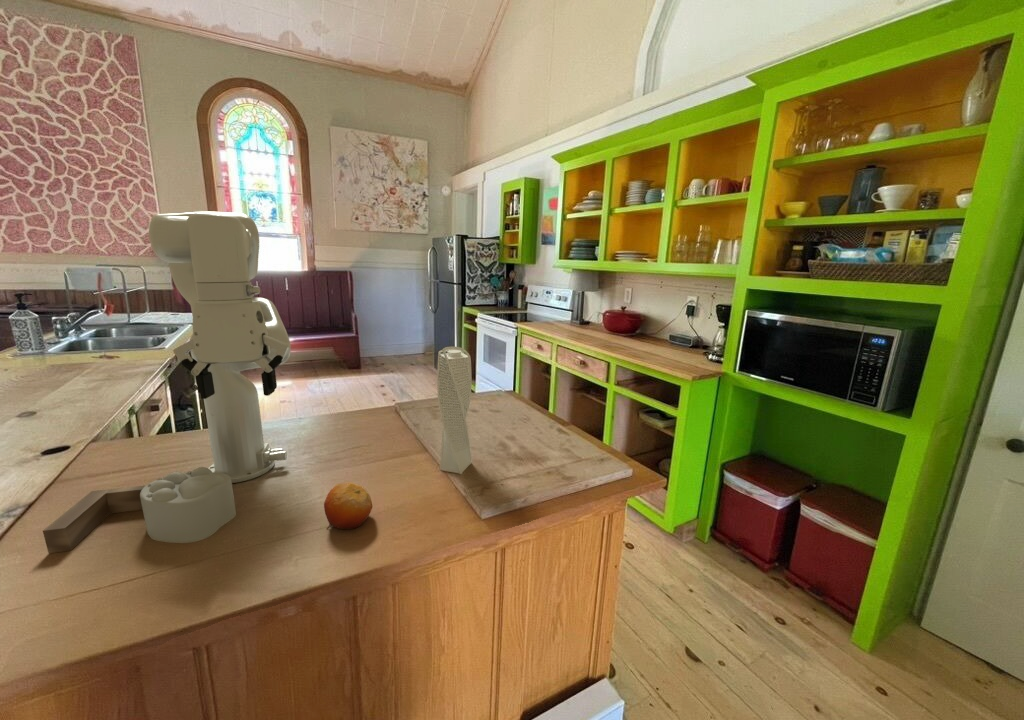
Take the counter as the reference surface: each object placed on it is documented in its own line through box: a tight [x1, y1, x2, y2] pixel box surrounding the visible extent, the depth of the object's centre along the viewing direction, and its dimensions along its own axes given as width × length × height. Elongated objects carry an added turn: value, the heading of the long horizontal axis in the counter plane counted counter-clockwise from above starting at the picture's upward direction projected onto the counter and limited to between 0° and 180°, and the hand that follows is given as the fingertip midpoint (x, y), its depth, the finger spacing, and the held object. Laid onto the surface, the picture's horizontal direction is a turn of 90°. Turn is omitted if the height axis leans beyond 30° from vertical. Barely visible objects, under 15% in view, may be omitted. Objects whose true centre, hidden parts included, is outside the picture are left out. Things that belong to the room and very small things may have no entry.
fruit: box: [323, 482, 373, 530], centre depth 76 cm, size 8×8×8 cm
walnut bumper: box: [42, 484, 147, 554], centre depth 75 cm, size 14×12×4 cm
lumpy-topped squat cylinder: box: [140, 466, 237, 544], centre depth 75 cm, size 10×13×9 cm
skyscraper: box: [436, 346, 473, 475], centre depth 94 cm, size 8×8×28 cm
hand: (239, 395), depth 75 cm, fingers open, 9 cm apart
